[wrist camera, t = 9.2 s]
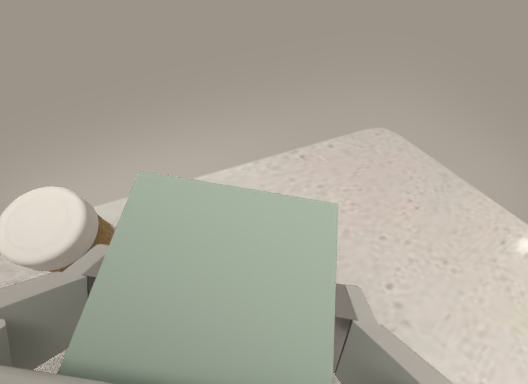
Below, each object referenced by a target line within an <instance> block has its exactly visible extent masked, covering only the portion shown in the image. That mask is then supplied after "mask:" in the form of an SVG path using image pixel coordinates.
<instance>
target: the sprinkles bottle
mask: <svg viewBox="0 0 528 384" xmlns="http://www.w3.org/2000/svg"><path fill="white" fill-rule="evenodd" d="M115 230H116V228H115V227H114V226H113V225H111V224H110V223H109V222H106V221H105V220H103V219H102V218H101V217H100V216H99V215H97V213H96V212H95V210H94V208H93V207H92V206H91V205H90V204H89V203H88V202H87V201H85V200H84V199H83V198H82V197H80V196H79V195H78V194H76V193H75V192H73V191H72V190H69V189H67V188H63V187H57V186H54V187H53V186H52V187H51V186H49V187H41V188H37V189H34V190H32V191H29V192H27V193H25V194H23V195H21V196H20V197H18V198H17V199H16V200H14V201H13V202H12V203H11V204H10V205H9V206H8V207H7V208H6V209H5V210H4V212H3V213H2V215H1V216H0V253H1V254H2V255H3V256H4V257H5V258H6V259H7V260H9V261H11V262H13V263H15V264H18V265H21V266H24V267H27V268H30V269H33V270H38V271H51V272H56V271H57V272H63V271H64V270H66V269H67V268H68V267H69V266H71V265H72V264H73V263H74V262H76V261H77V260H78V259H79V258H81V257H82V256H83V255H84V254H86V253H87V252H88V251H89V250H91V249H92V248H93V247H95V246H96V245H97V244H104V245H110V242H111V240H112V237H113V235H114V232H115Z"/></svg>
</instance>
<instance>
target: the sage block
mask: <svg viewBox="0 0 528 384" xmlns="http://www.w3.org/2000/svg"><path fill="white" fill-rule="evenodd" d="M337 229H338V204H336V203H330V202H324V201H318V200H312V199H306V198H300V197H294V196H288V195H282V194H276V193H270V192H265V191H259V190H253V189H247V188H241V187H235V186H229V185H223V184H217V183H211V182H205V181H199V180H193V179H186V178H181V177H175V176H169V175H163V174H156V173H151V172H145V171H139V172H138V175H137V177H136V180H135V182H134V185H133V187H132V190H131V192H130V195H129V197H128V200H127V202H126V205H125V207H124V210H123V212H122V215H121V217H120V220H119V222H118V225H117V227H116V230H115V232H114V235H113V237H112V240H111V242H110V245H109V247H108V249H107V252H106V254H105V257H104V259H103V262H102V264H101V267H100V269H99V272H98V274H97V277H96V279H95V282H94V284H93V287H92V289H91V292H90V294H89V297H88V299H87V302H86V304H85V307H84V309H83V312H82V314H81V317H80V319H79V322H78V324H77V327H76V329H75V332H74V334H73V337H72V339H71V342H70V344H69V347H68V349H67V352H66V354H65V357H64V359H63V362H62V364H61V366H60V369H59V371H58V374H59V375H65V376H71V377H77V378H83V379H89V380H96V381H102V382H108V383H114V384H333V356H334V324H335V293H336V261H337Z"/></svg>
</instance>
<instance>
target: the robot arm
mask: <svg viewBox="0 0 528 384" xmlns="http://www.w3.org/2000/svg"><path fill="white" fill-rule="evenodd" d="M108 247H109V245H104V244H97V245H96V246H95V247H93V248H92V249H91V250H89V251H88V252H87V253H86V254H84V255H83V256H82V257H81V258H79V259H78V260H77V261H76V262H74V263H73V264H72V265H71V266H69V267H68V268H67V269H66V270H64V271H63V272H57V271H56V272H53V273H50V274H47V275H43V276H40V277H37V278H34V279H30V280H27V281H24V282H21V283H17V284H14V285H11V286H8V287H4V288H1V289H0V384H114V383H108V382H102V381H96V380H89V379H83V378H77V377H71V376H65V375H59V374H53V373H47V372H40V371H34V370H33V369H35V368H36V367H38V366H39V365H41V364H43V363H44V362H46V361H47V360H49V359H51V358H52V357H54V356H55V355H57V354H59V353H60V352H62V351H63V350H65V349H67V348H68V347H69V344H70V342H71V339H72V337H73V334H74V332H75V329H76V327H77V324H78V322H79V319H80V317H81V314H82V312H83V309H84V307H85V304H86V302H87V299H88V297H89V294H90V292H91V289H92V287H93V284H94V282H95V279H96V277H97V274H98V272H99V269H100V267H101V264H102V262H103V259H104V257H105V254H106V252H107V249H108ZM333 373H336V374H335V375H336V376H337V378H338V379H339V380H340V382H341V383H342V384H453V383H452V382H451V381H449V380H448V379H447V378H446V377H445V376H443V375H442V374H441V373H440V372H439V371H437V370H436V369H435V368H434V367H433V366H431V365H430V364H429V363H428V362H426V361H425V360H424V359H423V358H422V357H420V356H419V355H418V354H417V353H416V352H414V351H413V350H412V349H411V348H410V347H408V346H407V345H406V344H405V343H403V342H402V341H401V340H400V339H399V338H397V337H396V336H395V335H394V334H393V333H391V332H390V331H389V330H388V329H387V328H385V327H384V326H383V325H378V324H377V322H376V320H375V318H374V316H373V313H372V311H371V309H370V307H369V305H368V302H367V300H366V298H365V296H364V293H363V291H362V289H361V288H360V287H359V286H352V285H344V284H343V285H342V284H336V293H335V324H334V356H333Z"/></svg>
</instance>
